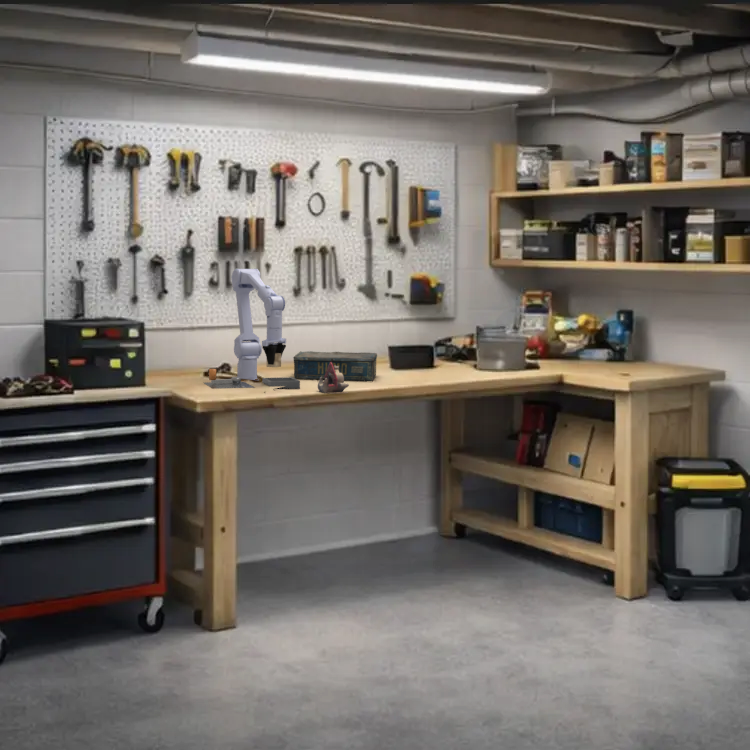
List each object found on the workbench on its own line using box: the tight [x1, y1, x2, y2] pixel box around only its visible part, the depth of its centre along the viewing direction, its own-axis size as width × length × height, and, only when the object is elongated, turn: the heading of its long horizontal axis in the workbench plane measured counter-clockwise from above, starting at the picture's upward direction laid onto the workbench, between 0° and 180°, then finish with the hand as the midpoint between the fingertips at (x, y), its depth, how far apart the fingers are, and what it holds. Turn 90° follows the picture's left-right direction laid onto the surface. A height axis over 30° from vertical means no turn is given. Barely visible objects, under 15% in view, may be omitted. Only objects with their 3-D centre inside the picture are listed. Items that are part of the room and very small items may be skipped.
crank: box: [208, 368, 242, 383], centre depth 447 cm, size 12×4×5 cm, turn 109°
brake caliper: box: [317, 362, 350, 395], centre depth 439 cm, size 11×11×12 cm
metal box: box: [292, 350, 378, 382], centre depth 481 cm, size 21×32×10 cm, turn 86°
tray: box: [262, 376, 301, 390], centre depth 448 cm, size 12×12×3 cm
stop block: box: [266, 353, 282, 368], centre depth 446 cm, size 4×4×5 cm
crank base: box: [202, 381, 256, 390], centre depth 442 cm, size 18×16×1 cm
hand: (274, 363), depth 446 cm, fingers closed on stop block, 4 cm apart
